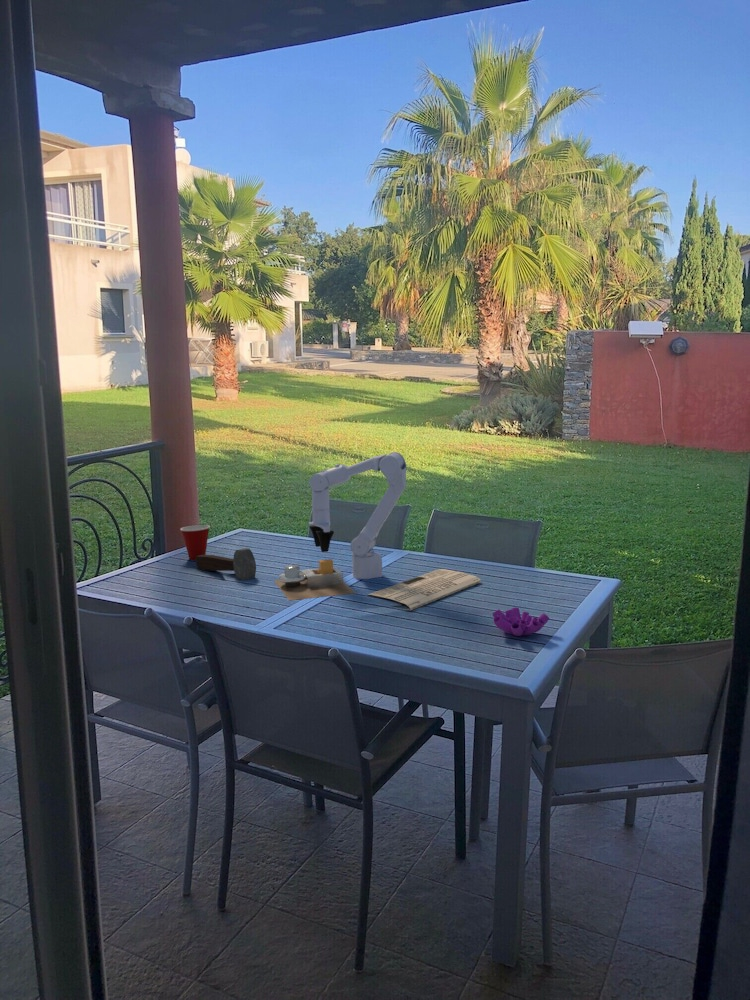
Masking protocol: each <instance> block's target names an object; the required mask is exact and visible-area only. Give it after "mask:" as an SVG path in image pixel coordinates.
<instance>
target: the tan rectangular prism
mask: <svg viewBox="0 0 750 1000" xmlns="http://www.w3.org/2000/svg"><path fill="white" fill-rule="evenodd" d="M333 567H334V560H333V559H331V558H329V559H319V560H318V568H319V574H325V573H333Z"/></svg>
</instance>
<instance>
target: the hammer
mask: <svg viewBox="0 0 750 1000" xmlns="http://www.w3.org/2000/svg"><path fill="white" fill-rule="evenodd" d="M256 563H257V562H256V560H255V556H254V552H253V551H252V550H251V549H250V548H247V547H245V548H240V549H236V550H235V551H234V553H233V558H230V557H225V556H220V555H214V554H206V555H200V556H196V560H195V565H196V568H197V569H198V570H201V571H209V572H211V571H213V572H214V571H215V572H217V571H223V572H225V571H227V572H229V571H230V572H232V571H233V572H234V574H235V577H236V578H237V579H239V580H242V581H245V580H250V579H253V578H256V573H257V564H256Z"/></svg>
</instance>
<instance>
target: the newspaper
mask: <svg viewBox="0 0 750 1000" xmlns="http://www.w3.org/2000/svg"><path fill="white" fill-rule="evenodd" d="M480 583H482V579H481V578H479V577H478V576H476V575H473V574H469V573H467V572H466V573H465V572H463V571H457V570H450V569H444V568H440V569H436V570H433V571H432V570H431V571H430V572H427V573H424V574H421V575H419V576H416V577H414V578H410V579H408V580H405V581H401V582H399V583H396V584H394V585H391V586H389V587H388V586H387V587H385V588H383V589H380V590H377V591H374V592H372V593H369V594H367V596H372V597H378V598H383V599H386V600H387V599H388V600H392V601H395V602H398V603H401V604H404V605H406V606H407V608H405V610H407V611H409V612H411V611H413V610H415V609H418V608H420V607H423V606H425V605H427V604H430V603H433V602H435V601H438V600H441V599H443V598H445V597H447V596H450V595H453V594H455V593H458V592H461V591H463V590H465V589H467V588H470V587H473V586H475V585H477V584H480Z"/></svg>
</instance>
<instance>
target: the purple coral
mask: <svg viewBox="0 0 750 1000" xmlns="http://www.w3.org/2000/svg"><path fill="white" fill-rule="evenodd" d="M492 616H493V623H494V624H495V626H496V627H497V628H498V629H499V630H501V631H503V632H505V633H506V634H507V633H508V634H512V635H514V636H517V637H520V636H527V635H531V634H533V633H536V632H539V631H541V630H542V628H543V627H544V626H545V625H546V624H547V623H548V622H549V620H550V616H548V615H547V614H545V613H542V614H541V615H540V616H538V617H536V616H534V617H533V616H532V615H530V613H529V612H528V611H527V612H526V611H522V613H520V609H519V607H511V609H507V610H505V613H504V612H502V611H501V609H497V610H494V612H492Z"/></svg>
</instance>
